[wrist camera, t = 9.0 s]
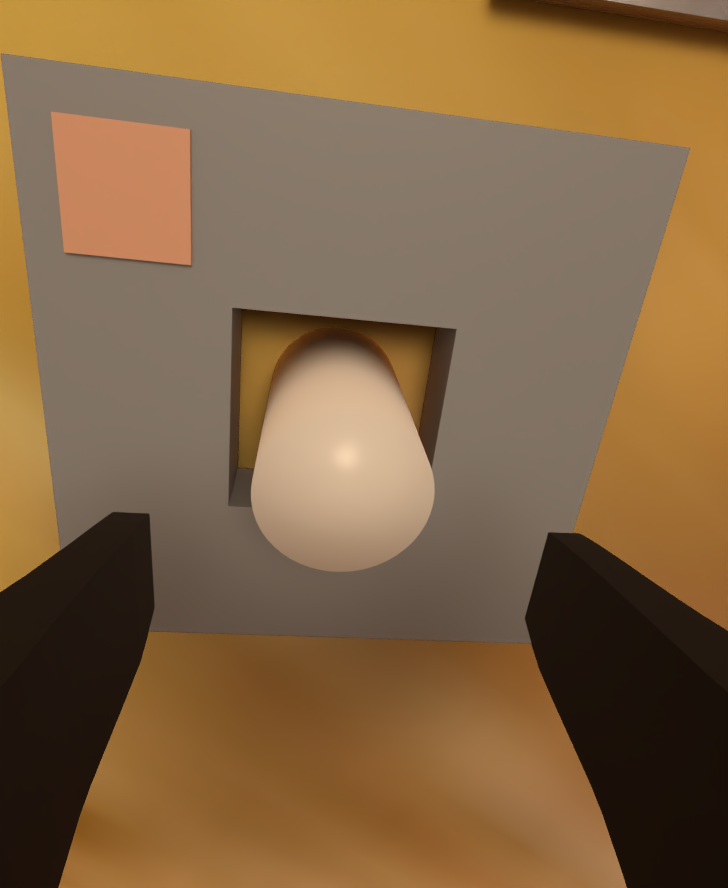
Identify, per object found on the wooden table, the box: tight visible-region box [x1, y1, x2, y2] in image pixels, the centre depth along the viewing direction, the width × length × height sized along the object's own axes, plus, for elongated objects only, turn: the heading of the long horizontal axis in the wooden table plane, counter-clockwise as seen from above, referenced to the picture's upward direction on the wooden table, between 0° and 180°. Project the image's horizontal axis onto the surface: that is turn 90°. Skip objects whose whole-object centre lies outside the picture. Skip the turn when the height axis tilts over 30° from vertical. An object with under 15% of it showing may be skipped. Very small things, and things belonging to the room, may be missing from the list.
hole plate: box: [1, 53, 690, 644], centre depth 18 cm, size 16×16×3 cm
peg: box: [251, 327, 435, 572], centre depth 16 cm, size 4×4×7 cm
